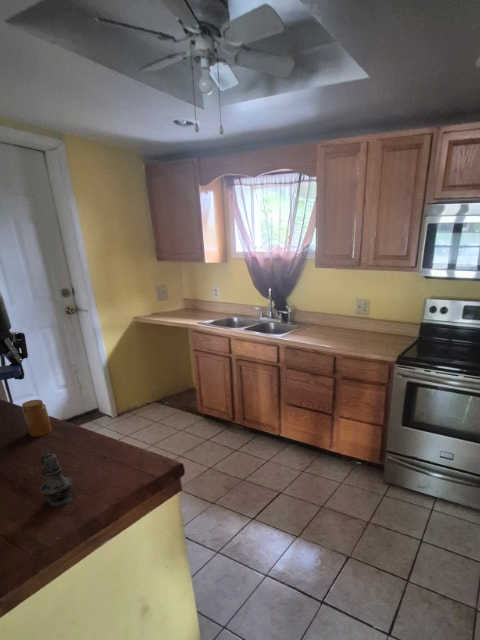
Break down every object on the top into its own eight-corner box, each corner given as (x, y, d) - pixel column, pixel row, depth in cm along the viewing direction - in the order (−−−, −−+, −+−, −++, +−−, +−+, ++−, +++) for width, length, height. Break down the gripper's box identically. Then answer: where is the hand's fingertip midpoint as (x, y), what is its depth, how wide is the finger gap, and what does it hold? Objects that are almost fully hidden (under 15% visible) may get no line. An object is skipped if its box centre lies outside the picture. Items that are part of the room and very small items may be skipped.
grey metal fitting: (81, 495, 81) (68, 448, 76) (54, 511, 76) (38, 461, 71) (66, 487, 84) (52, 440, 79) (38, 501, 79) (22, 453, 74)
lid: (28, 372, 86) (25, 365, 85) (5, 381, 80) (3, 373, 79) (5, 371, 86) (3, 364, 86) (-19, 379, 81) (-21, 372, 80)
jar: (26, 440, 103) (15, 406, 99) (41, 431, 108) (31, 398, 104) (43, 441, 102) (33, 407, 98) (58, 432, 107) (48, 399, 103)
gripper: (-35, 315, 70) (-7, 396, 77) (27, 303, 83) (46, 374, 90) (-69, 313, 71) (-38, 394, 78) (-3, 302, 84) (19, 372, 91)
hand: (7, 383), depth 84 cm, fingers closed on lid, 6 cm apart
